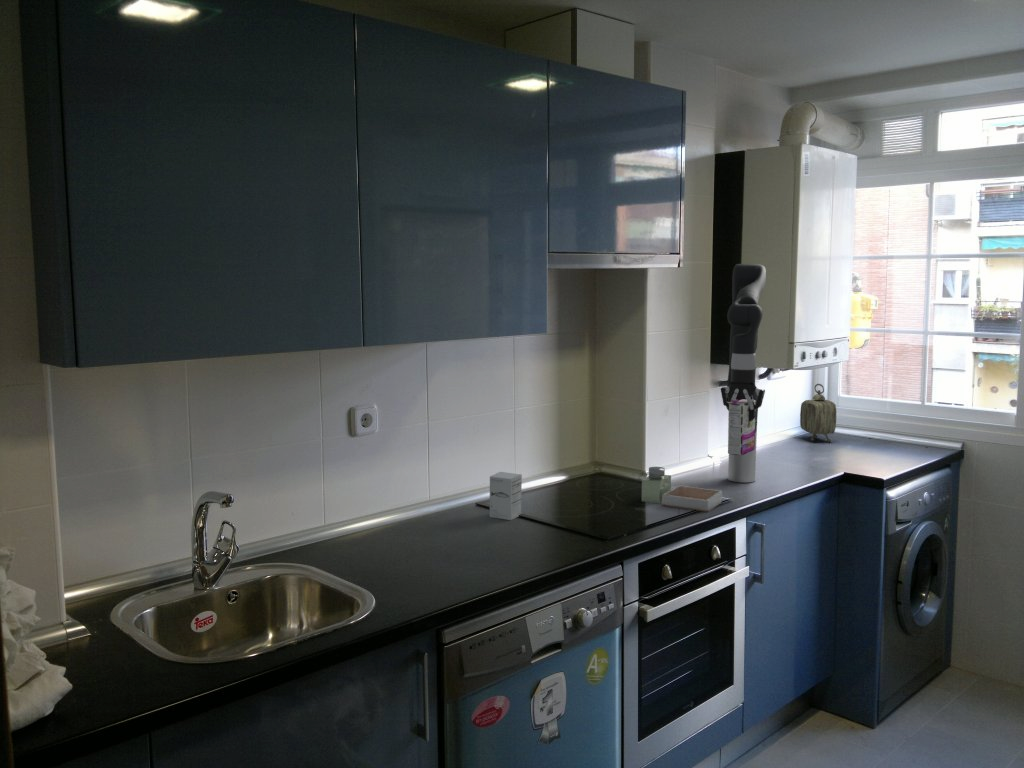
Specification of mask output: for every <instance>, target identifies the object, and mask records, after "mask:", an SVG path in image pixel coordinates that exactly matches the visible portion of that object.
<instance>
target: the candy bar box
mask: <svg viewBox="0 0 1024 768" xmlns="http://www.w3.org/2000/svg"><path fill="white" fill-rule="evenodd" d="M754 403H755V404H756V401H755V400H754ZM749 410H750V407H749V404H748V403H747V400H744V399H742V400H739V401H736V402H733V403H730V404H729V411H728V422H727V423H728V429H727V430H728V431H727V433H728V434H727V435H728V436H727V454H728V455H729V454H732V455H744V454H746V453H748V452H751V451H753V450H755V418H754V419H753V421H749Z"/></svg>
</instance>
